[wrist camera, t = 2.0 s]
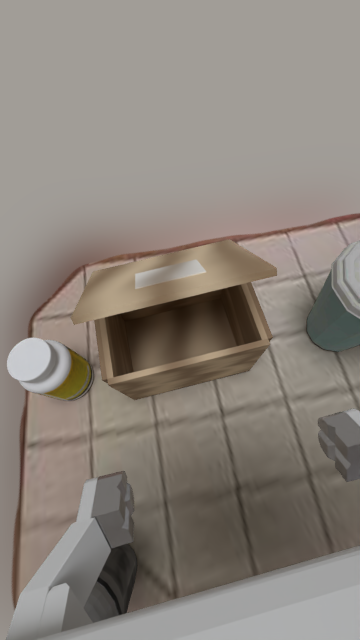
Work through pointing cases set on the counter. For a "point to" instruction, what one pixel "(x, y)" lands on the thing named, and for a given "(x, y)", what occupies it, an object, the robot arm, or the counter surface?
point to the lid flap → (168, 279)
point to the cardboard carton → (182, 341)
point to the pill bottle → (50, 369)
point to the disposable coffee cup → (338, 304)
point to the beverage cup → (113, 585)
